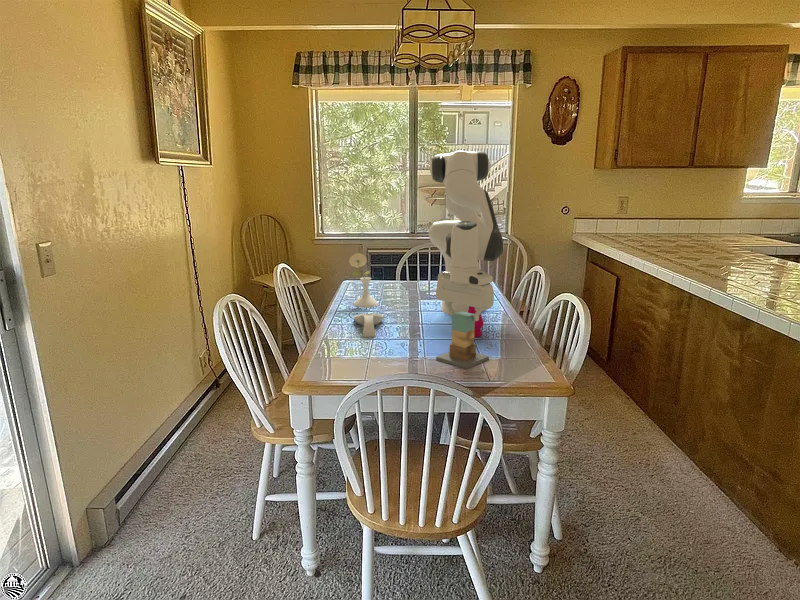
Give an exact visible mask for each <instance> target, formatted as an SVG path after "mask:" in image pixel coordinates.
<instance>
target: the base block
mask: <svg viewBox="0 0 800 600" xmlns="http://www.w3.org/2000/svg"><path fill="white" fill-rule="evenodd" d="M449 352H450V353H449V357H453V358H456V359H459V360H463V361H466V360H468V359H471V358H473V357H475V356H476V353H477V344H476V343H474V345H471V346H469V347H466V348H463V347H459V346H455V345H452V343H450V344H449Z"/></svg>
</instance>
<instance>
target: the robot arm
mask: <svg viewBox="0 0 800 600" xmlns="http://www.w3.org/2000/svg"><path fill="white" fill-rule="evenodd" d="M490 169H491V161H490V158H489V155H488V154H487V153H486V152H484V151H478V150H477V151H470V150H469V151H467V150H456V151H454V152H447V153H438V154H435V155H433V157H432V158H431V160H430V164H429V173H430V176H431V178H432V179H433V181H434V182H436V183H440V184H443V183H444V187H445V208H446V210H447V211H448V212H449V214H450V215H452V216H454V217H456V218H458V219H459V220H457V219H456V220H450V219H449V220H446V219H445V220H440V221H439V220H438V221H434V222H432V224H431V225H430V227H429V231H428V238H429V240H430V242H431V244H432V245H434V246H435V247H437V249H438V250H439V252H441V255H442V257H443V259H444V265H445V268H444V269H445V271H441V272H439V273H438V275H437V282H436V289H435V297H436V299H437V300H439V301H441V304H440V308H441V312H442V313H445V314H447V315H448V316H452V314H455V313H458V312H462V311H463V312H467V313H468V309H469V306H471V307H475V311H476V313H475V314H474V315H472V320H473V321H478V320H479V315H480V313H482V312H484V311H485V310H488V309H491V308H492V307H493V306H494V303H495V295H494V294H495V293H494V292H495V290H494V286H493V285H492V284H491V283H493V279H494V278H493V276H492V275H491V274H489V273H487V272H486V271H483V270H482V269H480V262H479V261H484V262H485V261H486V262H495V261H496V260H498V259H499V258H500V257H501V256H502V255H503V253H504V248H505V243H504V238H503V235H502V232H501V231H500V228H499V225H498V222H497V217H496V214H495V211H494V207H493V203H492V200H491V197H490V195H489V193H488V191H487V190H485V189H483V188H482V187H481V185H480V184H479V182H480V181H483V180H485V179H487V177H488V175H489V174H490V173H489V172H490ZM478 214H479V215H480V216H479V215H478Z"/></svg>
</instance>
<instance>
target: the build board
mask: <svg viewBox="0 0 800 600" xmlns="http://www.w3.org/2000/svg"><path fill="white" fill-rule="evenodd" d="M449 353H450V351H448V352H444V353H442V354H439V355H437V356H436V357H435V359H436V360H437V361H438V362H439V361H440V362H443V363H445V364H449V365H453V366H456V367H459V368H462V369H466V370H468V369H470V368H473V367H475V366H477V365H479V364H481V363H483V362H485V361H487V360H489V359H490V356H489V355H486V354H483V353H480V352H476V356H475V357H473V358H471V359H468V360H466V361H463V360H459V359H456V358H453V357H449Z"/></svg>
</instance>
